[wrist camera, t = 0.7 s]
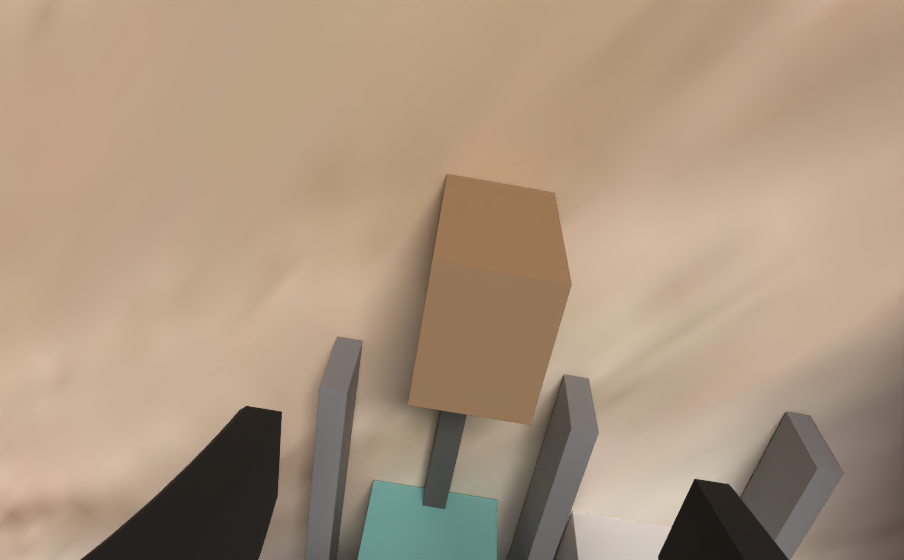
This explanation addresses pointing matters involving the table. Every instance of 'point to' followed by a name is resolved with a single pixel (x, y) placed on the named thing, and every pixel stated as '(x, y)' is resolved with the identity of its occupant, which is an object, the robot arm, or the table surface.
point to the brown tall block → (475, 358)
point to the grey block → (610, 539)
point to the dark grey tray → (569, 468)
